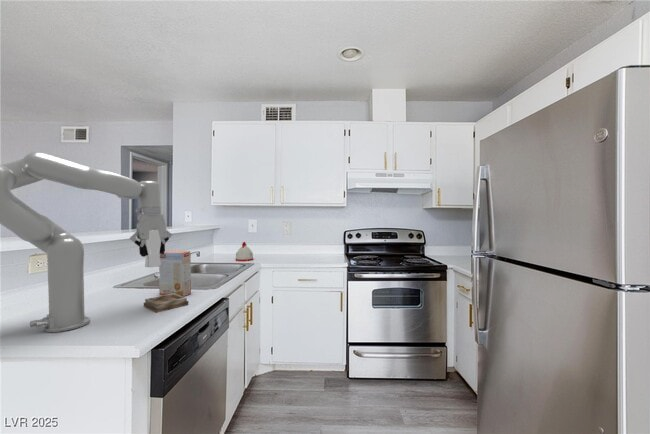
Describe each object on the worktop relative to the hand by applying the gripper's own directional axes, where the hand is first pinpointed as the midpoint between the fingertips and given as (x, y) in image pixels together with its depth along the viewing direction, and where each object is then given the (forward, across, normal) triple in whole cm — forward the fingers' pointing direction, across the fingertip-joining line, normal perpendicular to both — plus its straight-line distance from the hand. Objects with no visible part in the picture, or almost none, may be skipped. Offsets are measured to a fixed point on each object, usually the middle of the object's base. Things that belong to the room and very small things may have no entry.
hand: (152, 254), depth 125 cm
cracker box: (+23, +14, +15) cm, 31 cm away
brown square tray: (+22, +4, 0) cm, 23 cm away
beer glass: (+5, 0, 0) cm, 5 cm away
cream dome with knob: (+26, +96, +77) cm, 125 cm away
